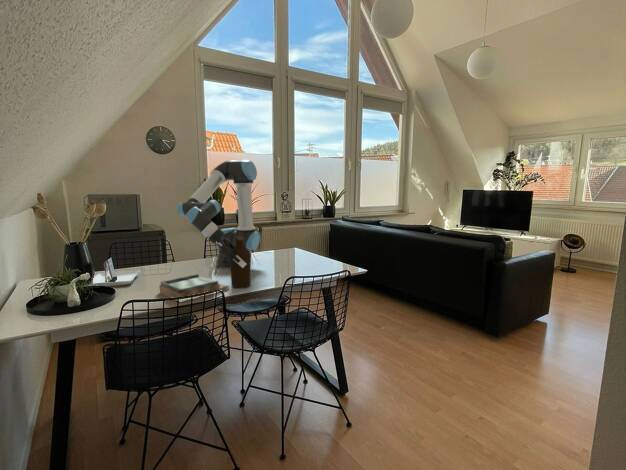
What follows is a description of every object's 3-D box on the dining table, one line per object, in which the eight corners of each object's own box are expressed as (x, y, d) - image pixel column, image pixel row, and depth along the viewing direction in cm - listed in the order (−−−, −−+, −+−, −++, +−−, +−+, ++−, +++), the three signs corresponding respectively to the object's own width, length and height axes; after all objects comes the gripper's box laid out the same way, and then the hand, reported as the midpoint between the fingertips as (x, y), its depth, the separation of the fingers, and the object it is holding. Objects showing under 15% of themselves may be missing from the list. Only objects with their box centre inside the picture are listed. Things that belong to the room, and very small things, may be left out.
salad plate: (85, 290, 168) (84, 283, 168) (99, 278, 189) (98, 272, 188) (132, 286, 174) (132, 280, 173) (141, 275, 194) (140, 269, 194)
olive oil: (252, 288, 170) (251, 238, 166) (230, 289, 168) (228, 239, 164) (250, 282, 180) (249, 235, 177) (230, 283, 178) (228, 236, 174)
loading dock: (207, 281, 181) (206, 271, 180) (228, 289, 168) (228, 278, 167) (159, 292, 163) (159, 281, 162) (179, 302, 150) (179, 290, 149)
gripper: (213, 234, 181) (243, 263, 184) (202, 242, 158) (237, 274, 161) (222, 224, 180) (253, 253, 184) (213, 231, 157) (248, 263, 161)
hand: (246, 263), depth 173 cm, fingers open, 11 cm apart
